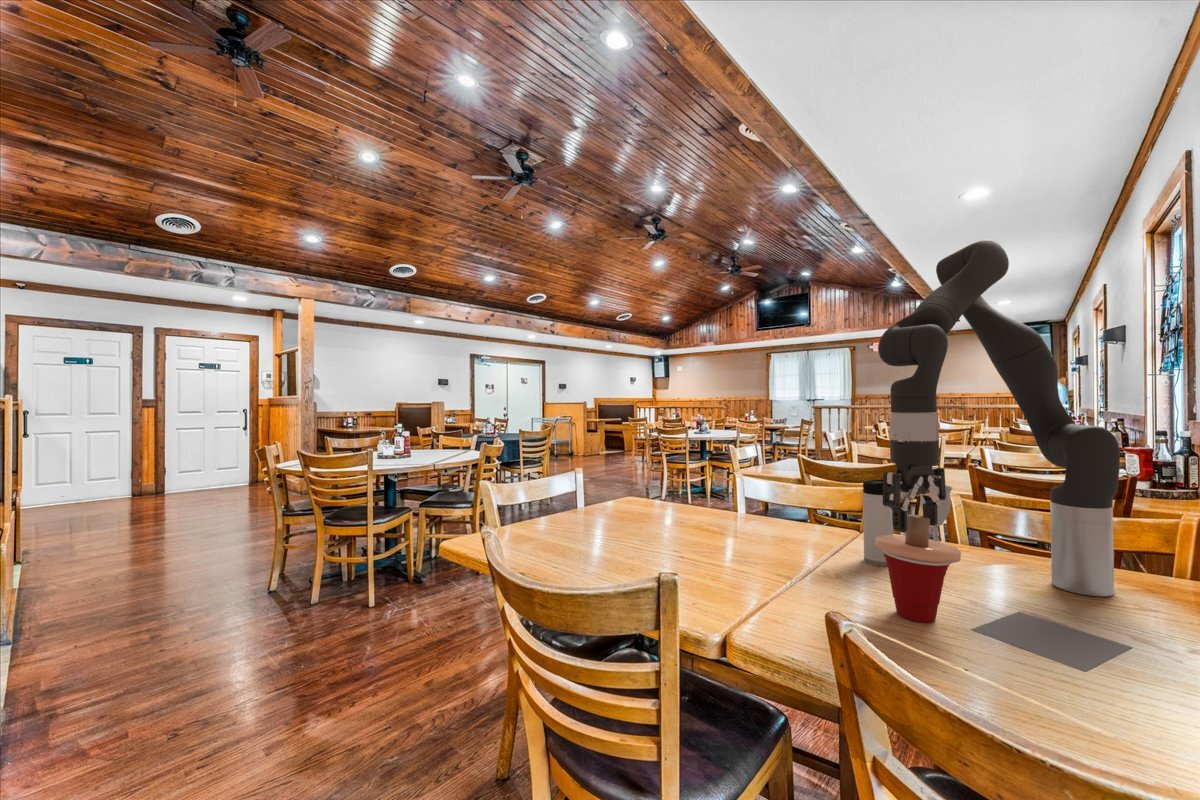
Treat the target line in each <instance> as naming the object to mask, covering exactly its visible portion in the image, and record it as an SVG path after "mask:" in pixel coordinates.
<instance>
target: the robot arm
mask: <svg viewBox="0 0 1200 800" xmlns="http://www.w3.org/2000/svg"><path fill="white" fill-rule="evenodd" d="M1009 263H1010V261H1009V257H1008V255H1007V253H1006V251H1005V249H1004V248H1003V247H1002V246H1001V245H1000V244H999V243H998V242H997V241H995V240H992V239H981V240H978V241H975V242H973V243H971V244H968V245H967V246H965V247H963V248H961V249H958V250H957V251H955V252H953V253H951V254H949V255H947V256H945V257H944V258H942V259H941V260H939V261H938V262H937V264H936V267H935V270H936V271H935V273H936V277H937V279H938V282H939V283H940V286H939V287H937V288H936V289H934V291H932V292H930V293H929V294H928V295H927V296H926V297H925V298H924V299H923V300H922V301H921V302H920V304H919V305H918V306H917V307H916V309H914V311H913V312H912V313H911V314H909V315H907V316H905V317H903V318H902V319H900V320H899V321H897V322H895V323H894V324H892V325H891V326H890V327H888V328H887V329H886V330H885V331H884V333H883V334H882V335H881V337H880V339H879V341H878V344H877V345H878V346H877V347H878V348H877V351H878V355H879V358H880V359H881V360H882V362H883V363H885V364H887V365H888V366H891V367H907V366H908V367H909V366H911V367H913V366H917V368H916V370H915V372H914V373H913V375H912V376H909V377H906V378H903V379H898V380H895V381H894V382H892V384H891V386H890V418H889V419H890V421H889V457H890V458H889V460H890V462H891V463H892V464H894V465H896V469H895V472H892V471H891V472H889V471H888V472H887V471H885V472H883V473H882V474H883V475H882V480H883V505H884V506H888V507H890V508H891V509H892V521H893V531H897V532H901V533H904V532H905V533H906V531H907V530H908V524H907V515H908V511H907V508H908V506H909V504H910V502H911V501H914V499H915V498H916V496H918V495H919V496H921V498H922V500H923V502H924V503H923V510H922V516H925V517H928V518H930V526H932V527H933V526H934V525H937V524H938V516H937V515H938V514H937V513H938V511H937V505H939V504H940V501H941V500H945V499H946V487H945V485H946V472H945V468H944V467H940V466H937V465H939V464H940V430H939V429H940V428H939V427H940V425H939V420H938V414H937V413H938V412H937V405H938V404H937V389H938V383H939V379H940V375H941V371H942V368H943V365H944V362H945V359H946V355H947V352H948V345H949V340H948V334H950V332H951V330H952V329H953V327H955V325H956V323H958V321H959V320H960V318H961V317H962V316H963V317H964V319H965V320H966V321H967V323H968V325H969V326H970V327H971V329H972V330H973V332H974V333H975V335H976V336H977V338H978V340H979V342H980V343H981V345H982V347H983V348H984V350H985V352H986V354H987V356H988V358H989V359H990V361H991V362H992V363H991V364H993V366H994V368H995V370H996V372H997V373H998V375H999V376H1000V377H1001V379H1002V381H1003V382H1004V384H1005V385H1006V387H1007V389H1008V390H1009V392H1010V394H1011V395H1012V397H1013V399H1014V400H1015V402H1016V404H1017V405H1018V407H1019V409H1020V410H1021V412H1022V414H1023V415H1024V418H1025V420H1026V422H1027V424H1028V427H1029V429H1030V431H1031V433H1032V436H1033V439H1034V440H1035V442H1036V445H1037V447H1038V448H1039V451H1040V452H1041V454H1042V456H1043V457H1044V458H1045V459H1046V460H1047V461H1048V462H1049V463H1051V464H1052V465H1054V466H1057V467H1060V468H1064V469H1065V475H1064V476H1065V477H1064V481H1063V482H1062V483H1061V484H1059V485H1055V486H1053V487H1051V489H1050V491H1049V499H1050V502H1049V504H1050V508H1049V509H1050V555H1051V556H1050V558H1051V564H1050V565H1051V568H1050V569H1051V584H1052V585H1053V586H1054V587H1056V588H1058V589H1061V590H1063V591H1067V592H1070V593H1073V594H1077V595H1083V596H1084V595H1085V596H1092V597H1112V596H1114V595H1115V569H1114V568H1115V563H1114V562H1115V559H1114V558H1115V557H1114V521H1113V520H1114V518H1113V517H1114V514H1113V510H1114V508H1113V507H1114V506H1113V501H1114V498H1115V496H1116V494H1117V492H1118V489H1119V482H1120V481H1119V480H1120V461H1121V460H1120V459H1121V456H1120V455H1121V454H1120V453H1121V452H1120V446H1119V442H1118V440H1117V438H1116V437H1115V435H1114V434H1113V433H1112V432H1111V431H1110V430H1109V429H1107V428H1104V427H1101V426H1098V425H1090V424H1088V425H1086V424H1077V423H1076V422H1075V421H1074V420H1073V418H1072V417H1071V416H1070V415H1069V413H1068V412H1067V410H1066V409H1065V406H1064V405H1063V403H1062V402H1061V398H1060V396H1059V388H1058V387H1059V386H1058V384H1059V382H1058V381H1059V372H1058V371H1059V370H1058V364H1057V361H1056V359H1055V357H1054V355H1053V353H1052V352H1051V350H1050V348H1049V346H1047V344H1046V342H1045V340H1044V339H1043V337H1042V335H1040V334H1039V333H1038V332H1037V331H1036V330H1035V329H1034V328H1032V327H1030V326H1028V325H1026V324H1024V323H1023V322H1021V321H1019V320H1016V319H1014V318H1012V317H1010V316H1008V315H1005V314H1004V313H1002V312H1000V311H998V310H997V309H995V308H994V307H992V306H991V305H990V304H989V303H988V302H987V301H986V299H985V298H984V297H982V295H983V294H984V293H985V292H986V291H987V290H988V289H990V288H991V287H992V286H994V285H995V284H996V283H997V282H999V281H1000V280H1001V279H1003V278H1004V277H1005V276H1006V274H1007V273H1008V270H1009V266H1010V265H1009ZM936 486H937V487H939V493H937V492H938V490H937V488H936ZM890 493H892V494H893V496H892V499H891V500H890ZM901 499H902V500H901Z"/></svg>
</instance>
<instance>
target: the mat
mask: <svg viewBox="0 0 1200 800" xmlns="http://www.w3.org/2000/svg"><path fill="white" fill-rule="evenodd" d="M970 631H973V632H975V633H978V634H980V635H984V636H987V637H989V638H992V639H994V640H997V641H1000V642H1003V643H1006V644H1009V645H1011V646H1014V647H1016V648H1019V649H1022V650H1024V651H1027V652H1030V653H1033V654H1036V655H1038V656H1041V657H1044V658H1045V659H1049V660H1052V661H1054V662H1057V663H1060V664H1063V665H1065V666H1067V667H1071V668H1073V669H1076V670H1079V671H1082V672H1084V673H1087V672H1089V671H1091V670H1093V669H1094V668H1096V667H1098V666H1100V665H1102V664H1104V663H1106V662H1108V661H1111V660H1112V659H1114V658H1116V657H1118V656H1121V655H1122V654H1124V653H1126V652H1127V651H1129V650H1132V649H1133V648H1134V647H1133V646H1129V645H1126V644H1123V643H1120V642H1117V641H1113V640H1111V639H1107V638H1104V637H1102V636H1097V635H1095V634H1092V633H1088V632H1085V631H1083V630H1078V629H1076V628H1073V627H1068V626H1066V625H1063V624H1059V623H1057V622H1054V621H1050V620H1047V619H1044V618H1040V617H1037V616H1034V615H1031V614H1029V613H1028V614H1027V613H1025V612H1021V611H1017V612H1015V613H1012V614H1009V615H1006V616H1004V617H1001V618H997V619H995V620H993V621H990V622H988V623H984V624H981V625H979V626H976V627H973V628H971V629H970Z"/></svg>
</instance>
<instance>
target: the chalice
mask: <svg viewBox="0 0 1200 800" xmlns="http://www.w3.org/2000/svg"><path fill="white" fill-rule="evenodd" d="M945 487H946V499H945V500H941V501H940V504H939V505H937V511H938V513H937V514H938V515H937V516H938V524H937V525H934V526H932V527H933V529H932V532H931V534H932V536H933V539H932V541H936V542H940V543H941V541H940V540H939V536H940V533H939V526H942V525H943V524H944V522H945V520H946V519H947V517H948V515H949V512H950V510H951V491H952V490H953V487H952V486H950V485H946V484H945ZM936 488H937V490H938V492H937V493H939V487H937V486H936ZM919 496H920V495H919ZM923 503H924V502H923V500H922V498H921V496H920V507H921V510H922V511H923Z"/></svg>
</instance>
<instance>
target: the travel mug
mask: <svg viewBox="0 0 1200 800" xmlns="http://www.w3.org/2000/svg"><path fill="white" fill-rule="evenodd" d="M892 497H893V494H892V493H890V500H891V499H892ZM862 514H863V515H862V520H863V521H862V522H863V526H862V527H863V529H862V530H863V561H864V562H865V563H867V564H868V563H869V565H871V564H872V566H875V565H877V566H876V567H887V562H886V558H885V555H884V552H883V551H882V550H881V549H879V548H877V547H876V545H875V541H876V537H877V536H881V535H894V529H893V521H892V509H891V508H890V507H888V506H884V505H883V479H870V480H869V479H868V480H865V481H864V482H863V483H862Z"/></svg>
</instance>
